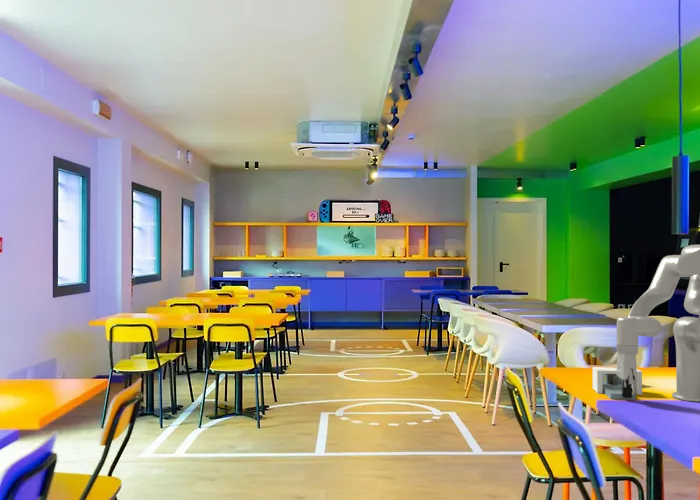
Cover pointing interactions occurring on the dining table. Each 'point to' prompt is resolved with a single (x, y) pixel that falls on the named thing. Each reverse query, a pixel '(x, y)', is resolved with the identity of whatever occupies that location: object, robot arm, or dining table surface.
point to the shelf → (599, 384)
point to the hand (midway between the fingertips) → (627, 397)
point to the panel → (616, 392)
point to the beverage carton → (612, 379)
